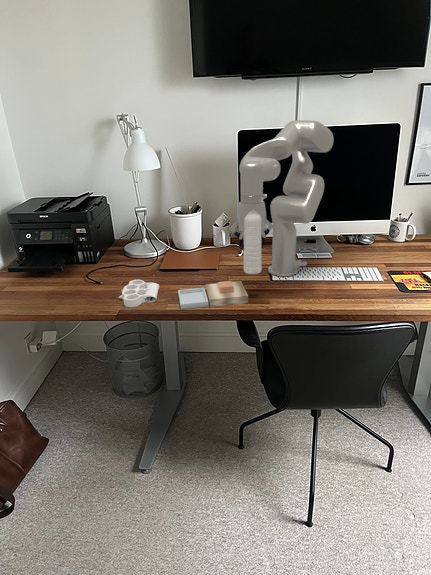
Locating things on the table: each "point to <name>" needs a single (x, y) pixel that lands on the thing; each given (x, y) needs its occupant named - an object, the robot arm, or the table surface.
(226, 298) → the birch plate
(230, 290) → the terracotta tile
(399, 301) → the table surface
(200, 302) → the box
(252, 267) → the water bottle
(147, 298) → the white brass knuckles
